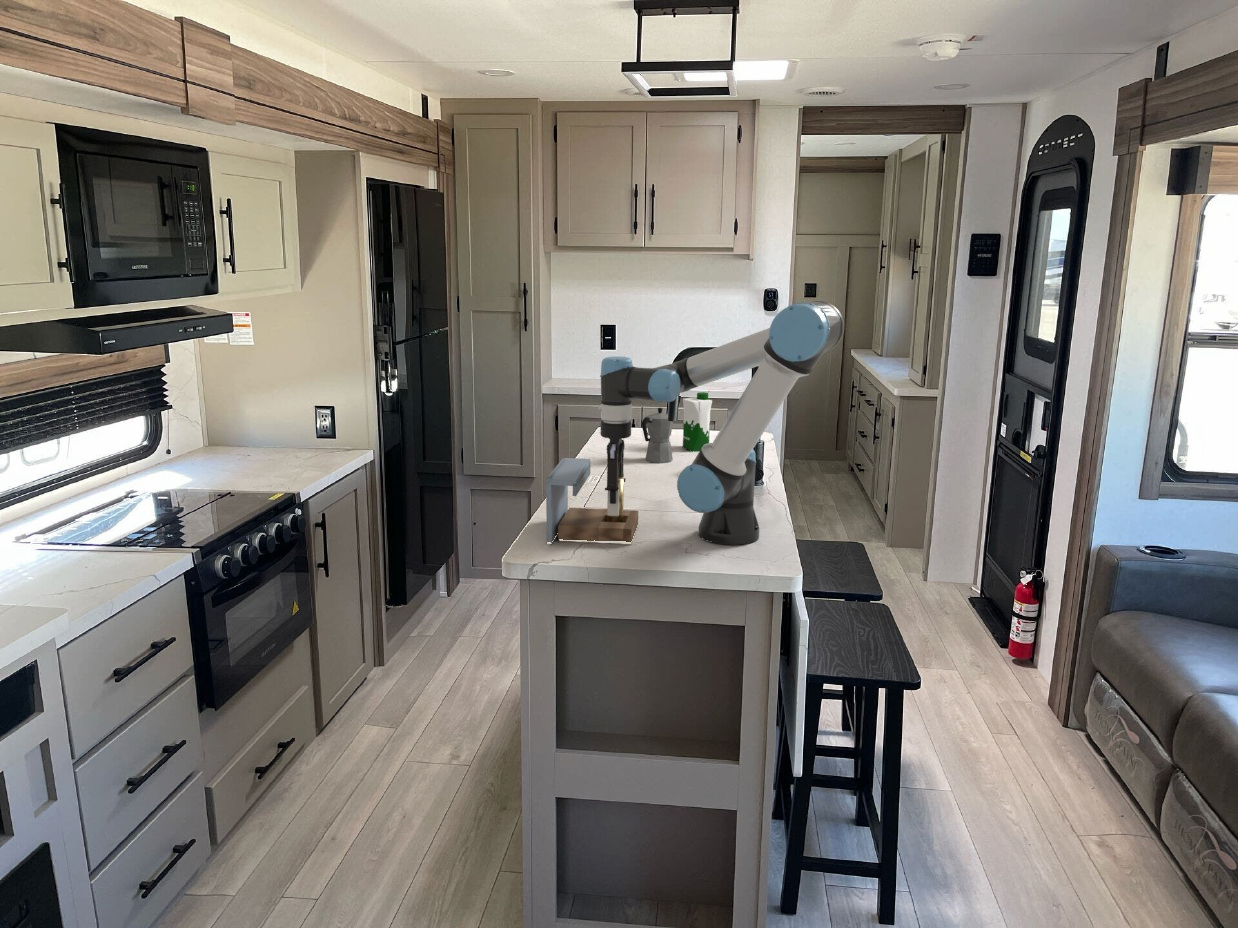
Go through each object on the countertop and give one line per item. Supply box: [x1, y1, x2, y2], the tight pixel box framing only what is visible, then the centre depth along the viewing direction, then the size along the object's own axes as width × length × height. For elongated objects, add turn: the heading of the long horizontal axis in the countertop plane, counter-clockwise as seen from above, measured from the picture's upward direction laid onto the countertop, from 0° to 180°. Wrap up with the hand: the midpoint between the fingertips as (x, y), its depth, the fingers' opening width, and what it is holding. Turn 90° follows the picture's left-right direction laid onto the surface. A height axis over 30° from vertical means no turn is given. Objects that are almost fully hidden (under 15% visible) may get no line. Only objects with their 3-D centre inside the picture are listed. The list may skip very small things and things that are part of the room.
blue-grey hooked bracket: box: [545, 457, 591, 543], centre depth 229 cm, size 7×22×16 cm, turn 173°
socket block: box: [557, 507, 639, 542], centre depth 230 cm, size 18×16×4 cm
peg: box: [606, 477, 625, 523], centre depth 229 cm, size 4×4×14 cm
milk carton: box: [682, 392, 713, 453], centre depth 324 cm, size 9×9×20 cm
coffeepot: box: [641, 407, 674, 464], centre depth 306 cm, size 15×9×18 cm, turn 137°
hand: (615, 511), depth 228 cm, fingers open, 6 cm apart
